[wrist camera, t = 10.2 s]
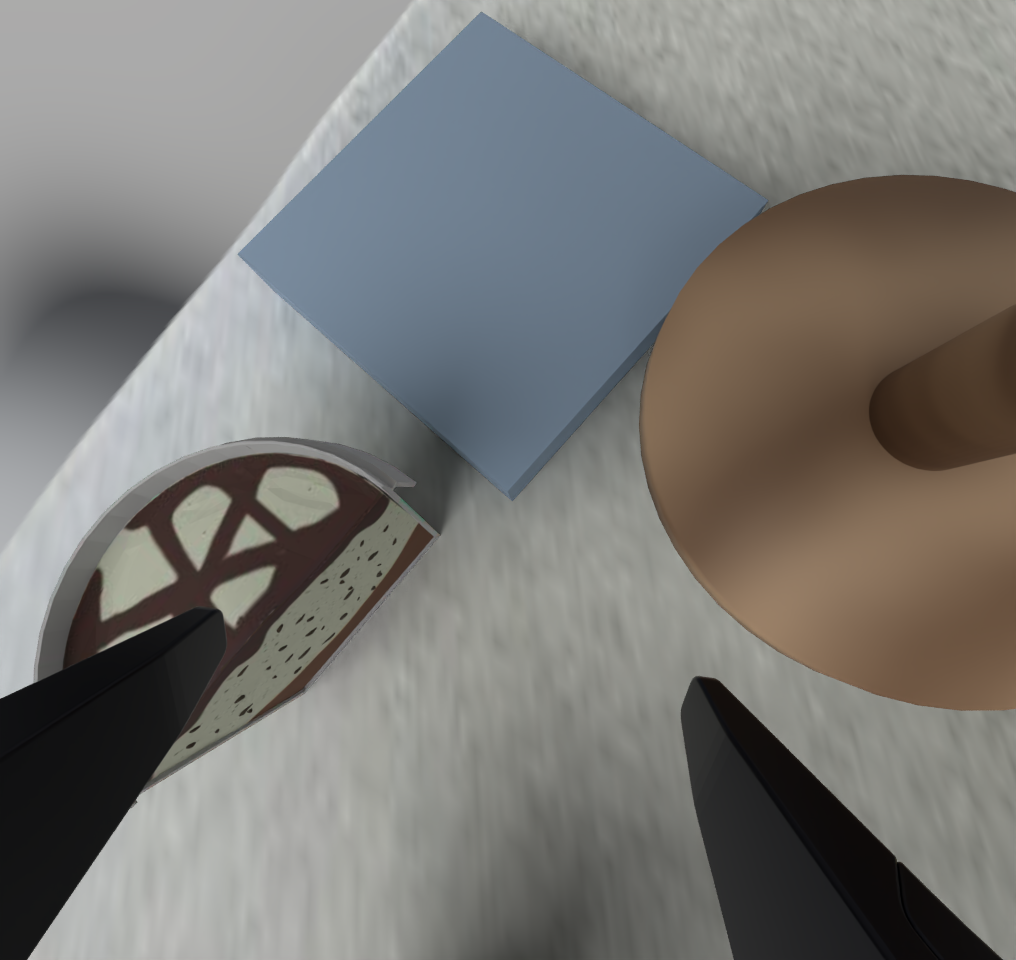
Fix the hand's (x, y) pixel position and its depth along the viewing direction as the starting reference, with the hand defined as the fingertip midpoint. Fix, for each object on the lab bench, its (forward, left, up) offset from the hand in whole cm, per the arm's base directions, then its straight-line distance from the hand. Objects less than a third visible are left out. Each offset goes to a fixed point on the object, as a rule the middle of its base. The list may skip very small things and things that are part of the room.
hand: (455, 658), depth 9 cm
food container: (+7, +5, -13) cm, 16 cm away
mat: (+11, -12, -13) cm, 21 cm away
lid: (-6, -13, -6) cm, 15 cm away
